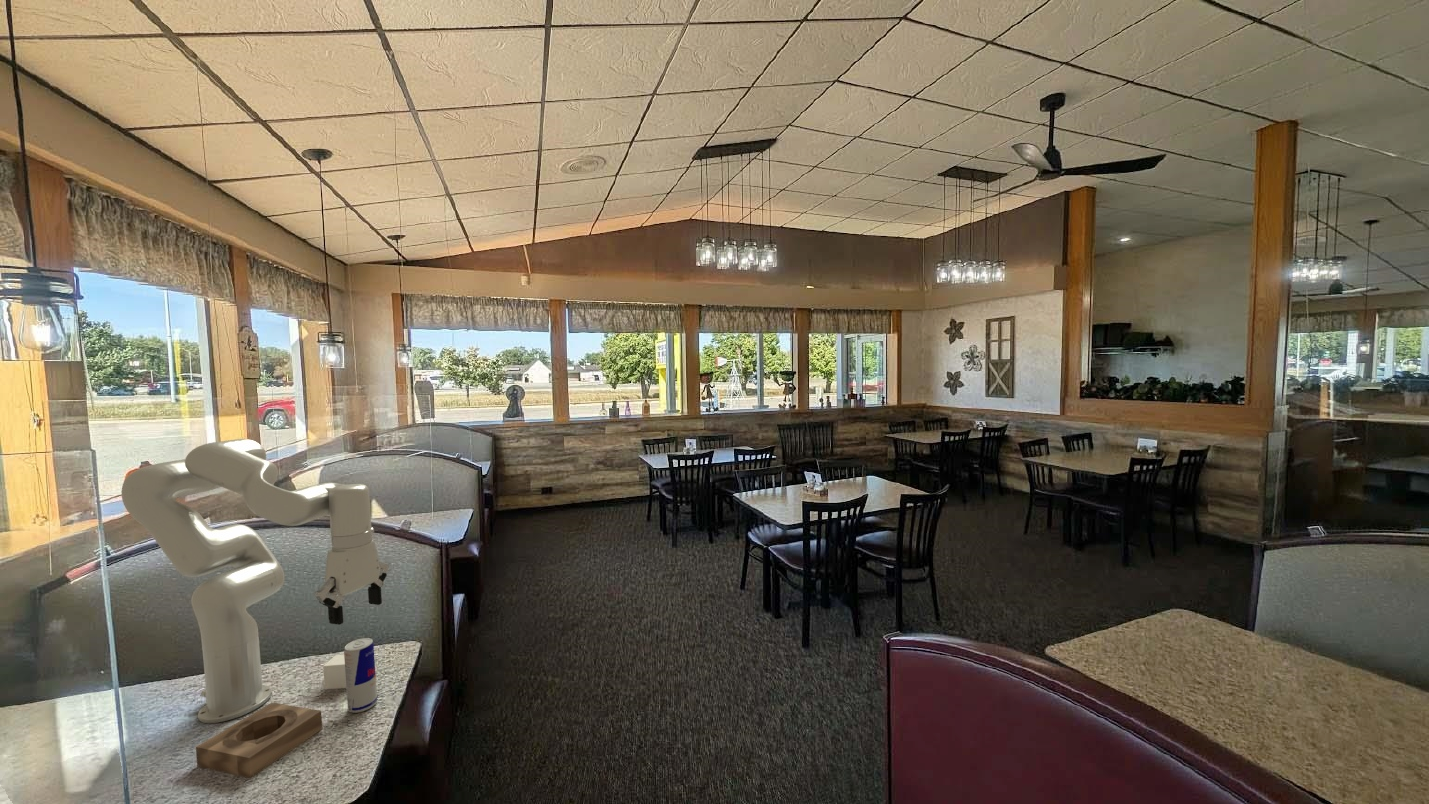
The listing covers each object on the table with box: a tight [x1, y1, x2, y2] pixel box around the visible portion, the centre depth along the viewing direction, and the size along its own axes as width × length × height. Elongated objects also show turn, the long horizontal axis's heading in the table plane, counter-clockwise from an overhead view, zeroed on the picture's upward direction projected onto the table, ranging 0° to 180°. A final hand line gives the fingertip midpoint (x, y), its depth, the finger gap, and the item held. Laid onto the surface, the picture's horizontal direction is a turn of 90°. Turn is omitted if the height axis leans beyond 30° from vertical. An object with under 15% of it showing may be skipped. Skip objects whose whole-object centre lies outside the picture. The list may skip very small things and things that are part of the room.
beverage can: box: [343, 637, 378, 714], centre depth 119 cm, size 6×6×15 cm
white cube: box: [322, 653, 347, 690], centre depth 129 cm, size 7×5×6 cm
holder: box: [195, 702, 323, 779], centre depth 107 cm, size 14×14×4 cm
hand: (356, 613), depth 118 cm, fingers open, 9 cm apart
